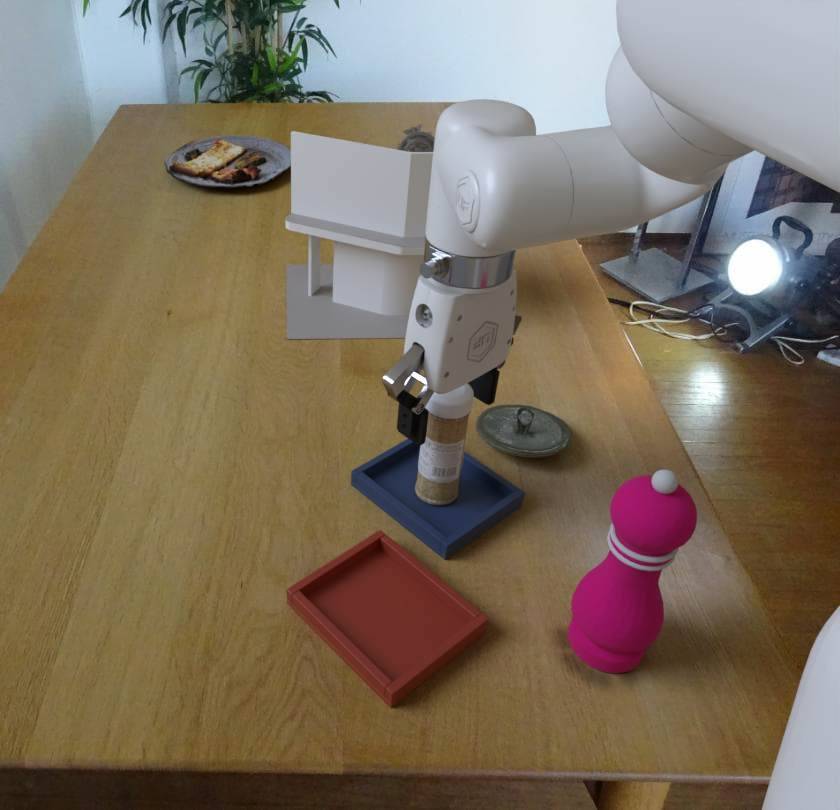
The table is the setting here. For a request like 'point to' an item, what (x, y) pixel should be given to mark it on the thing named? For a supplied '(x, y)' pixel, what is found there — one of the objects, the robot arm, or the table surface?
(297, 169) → the architectural model
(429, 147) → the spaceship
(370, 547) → the red tray
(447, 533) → the blue tray
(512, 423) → the lid
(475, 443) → the table surface
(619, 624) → the pepper mill
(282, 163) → the food plate
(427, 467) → the sprinkles bottle
